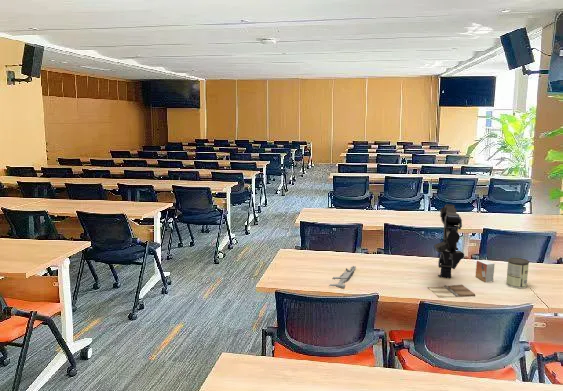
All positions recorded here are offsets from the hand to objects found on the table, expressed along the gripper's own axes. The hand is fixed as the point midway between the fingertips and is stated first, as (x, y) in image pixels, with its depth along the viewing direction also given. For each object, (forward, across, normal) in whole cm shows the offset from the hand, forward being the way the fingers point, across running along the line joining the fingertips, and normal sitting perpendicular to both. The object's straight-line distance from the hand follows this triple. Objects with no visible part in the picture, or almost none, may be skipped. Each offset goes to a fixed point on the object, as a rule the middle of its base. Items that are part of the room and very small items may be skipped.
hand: (449, 266), depth 260 cm
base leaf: (+12, +8, -7) cm, 16 cm away
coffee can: (+12, 0, +39) cm, 41 cm away
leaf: (+12, +8, +2) cm, 14 cm away
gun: (+13, -23, -52) cm, 58 cm away
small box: (+12, -10, +26) cm, 30 cm away
